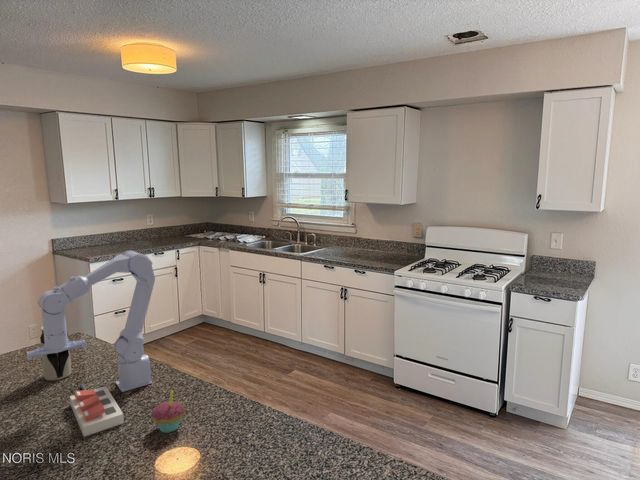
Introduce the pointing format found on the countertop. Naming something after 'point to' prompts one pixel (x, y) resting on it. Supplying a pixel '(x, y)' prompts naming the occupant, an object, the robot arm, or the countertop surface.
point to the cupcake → (168, 414)
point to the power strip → (103, 421)
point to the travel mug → (48, 368)
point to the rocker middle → (89, 403)
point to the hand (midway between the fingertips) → (59, 376)
